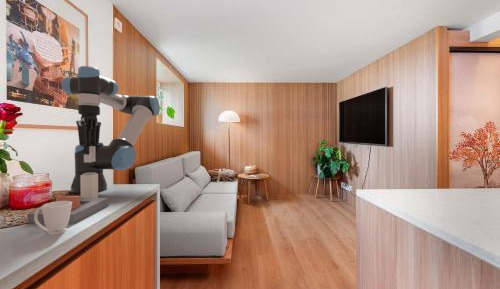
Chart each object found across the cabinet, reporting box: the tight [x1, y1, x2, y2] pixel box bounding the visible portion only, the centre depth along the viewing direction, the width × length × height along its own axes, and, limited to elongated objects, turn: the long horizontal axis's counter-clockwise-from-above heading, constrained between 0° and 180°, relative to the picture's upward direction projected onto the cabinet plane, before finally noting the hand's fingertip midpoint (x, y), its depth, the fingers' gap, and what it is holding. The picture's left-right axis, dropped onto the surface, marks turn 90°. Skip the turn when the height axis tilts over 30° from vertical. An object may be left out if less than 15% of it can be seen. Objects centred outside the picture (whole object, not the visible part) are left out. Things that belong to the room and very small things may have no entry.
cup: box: [34, 200, 72, 236], centre depth 70 cm, size 7×10×8 cm
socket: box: [26, 197, 109, 225], centre depth 86 cm, size 20×14×3 cm
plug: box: [80, 172, 99, 198], centre depth 103 cm, size 4×4×12 cm
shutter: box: [55, 195, 81, 210], centre depth 81 cm, size 7×7×4 cm
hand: (89, 161), depth 103 cm, fingers open, 2 cm apart
